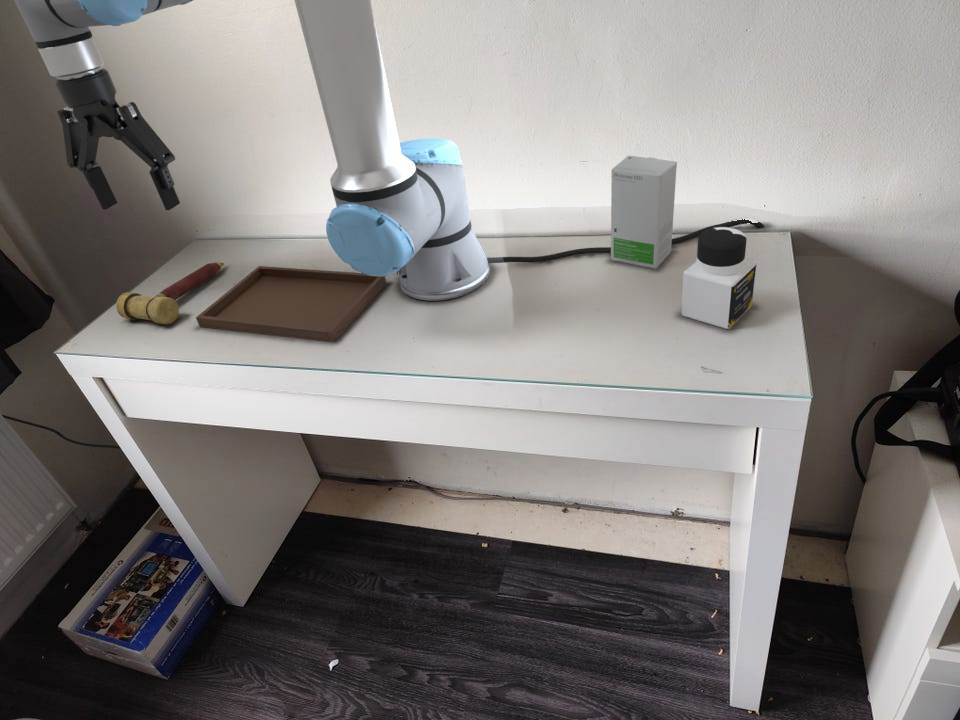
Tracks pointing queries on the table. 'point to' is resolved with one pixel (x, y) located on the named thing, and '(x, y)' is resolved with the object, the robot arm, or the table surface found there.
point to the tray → (293, 303)
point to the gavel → (164, 297)
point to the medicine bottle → (719, 279)
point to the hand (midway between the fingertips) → (141, 206)
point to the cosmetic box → (642, 210)
